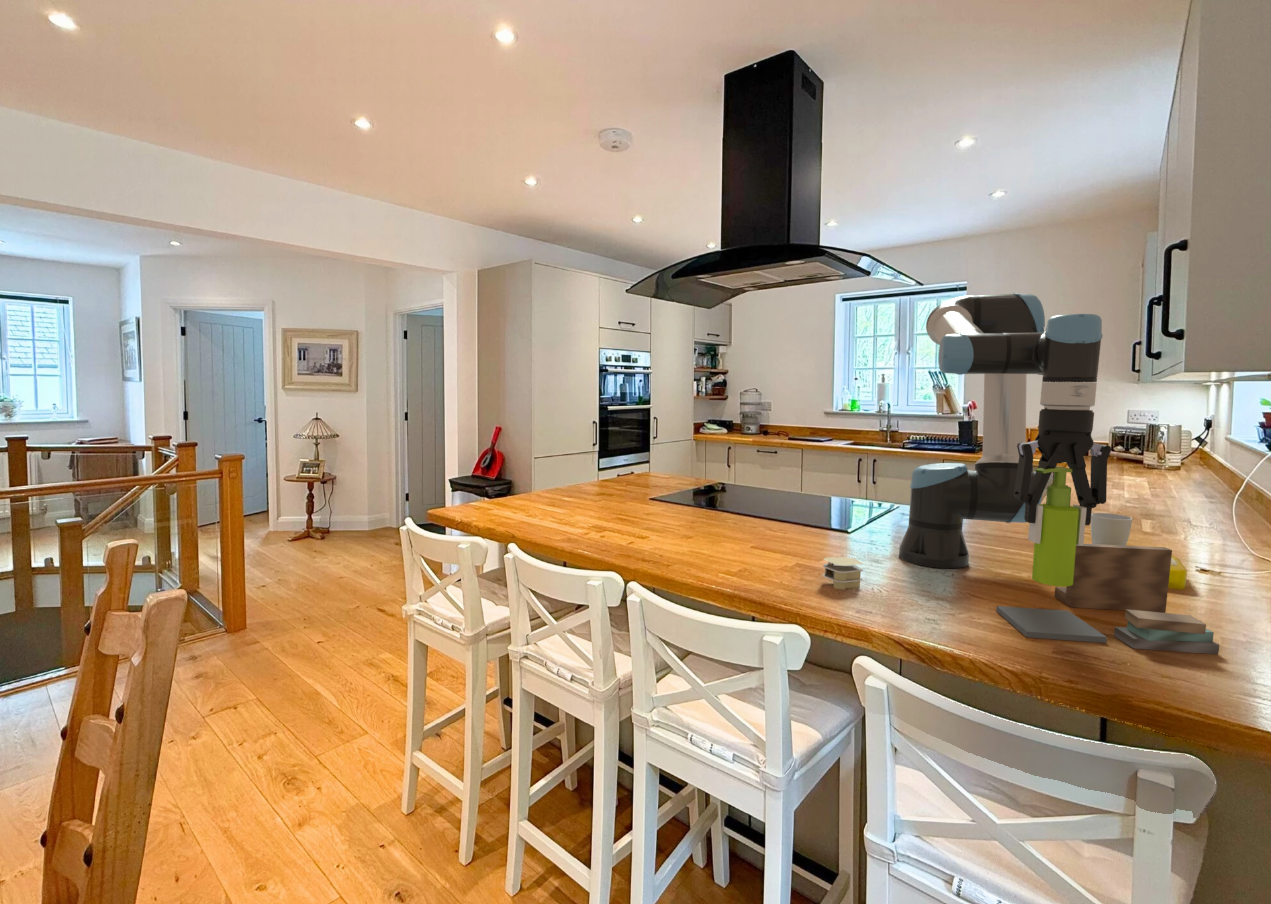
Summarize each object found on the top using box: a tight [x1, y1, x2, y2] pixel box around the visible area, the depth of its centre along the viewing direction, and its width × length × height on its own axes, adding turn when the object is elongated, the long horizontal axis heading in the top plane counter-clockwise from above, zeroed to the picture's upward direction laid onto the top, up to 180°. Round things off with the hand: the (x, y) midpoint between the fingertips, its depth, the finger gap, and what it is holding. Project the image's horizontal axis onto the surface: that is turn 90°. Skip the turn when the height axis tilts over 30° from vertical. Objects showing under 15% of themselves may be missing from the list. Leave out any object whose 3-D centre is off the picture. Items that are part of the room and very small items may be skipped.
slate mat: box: [995, 605, 1108, 644], centre depth 106 cm, size 12×12×1 cm
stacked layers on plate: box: [822, 556, 864, 590], centre depth 127 cm, size 10×9×6 cm
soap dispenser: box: [1031, 466, 1079, 587], centre depth 104 cm, size 6×7×20 cm
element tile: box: [1168, 555, 1188, 590], centre depth 135 cm, size 15×15×5 cm
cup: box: [1090, 512, 1133, 546], centre depth 151 cm, size 8×8×10 cm
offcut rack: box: [1053, 543, 1220, 655], centre depth 107 cm, size 16×25×12 cm, turn 170°
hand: (1055, 542), depth 104 cm, fingers closed on soap dispenser, 6 cm apart
